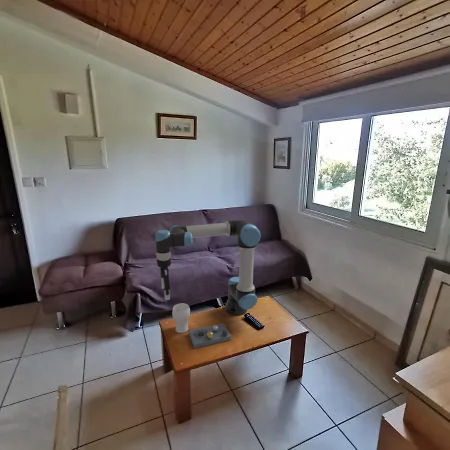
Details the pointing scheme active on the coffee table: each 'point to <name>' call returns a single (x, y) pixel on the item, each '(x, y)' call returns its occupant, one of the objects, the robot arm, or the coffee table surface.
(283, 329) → the coffee table surface
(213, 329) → the steel ball
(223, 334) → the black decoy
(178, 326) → the cup
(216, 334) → the plate
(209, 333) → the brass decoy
